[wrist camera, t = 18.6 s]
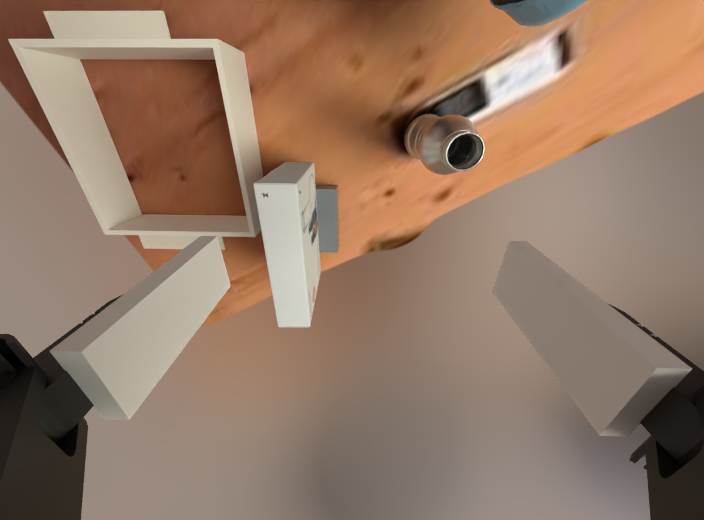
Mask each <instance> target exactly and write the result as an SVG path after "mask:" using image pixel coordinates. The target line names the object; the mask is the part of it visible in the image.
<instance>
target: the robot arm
mask: <svg viewBox="0 0 704 520" xmlns="http://www.w3.org/2000/svg"><path fill="white" fill-rule="evenodd" d="M586 1H588V0H490V2H491V4H492V5H493V6H494V7H496V8H498V9H500V10H503V11H505V12H506V13H507V14H508V15H509V16H510V17H511V18H512V19H513V20H515V21H516V22H517V23H518V24H520V25H524V26H528V27H530V26H531V27H536V26H541V25H544V24H547V23H550V22H552V21H554V20H556V19H558V18H560V17H562V16H564V15H566V14H567V13H569V12H571V11H572V10H574V9H576V8H577V7H579V6H580V5H582V4H583V3H585V2H586ZM229 288H230V282H229V278H228V275H227V271H226V267H225V263H224V260H223V256H222V252H221V248H220V245H219V241H218V237H217V236H200V237H199V238H197V239H196V240H195V241H193V242H192V243H191V244H189V245H188V246H187V247H185V248H184V249H183V250H181V251H180V252H179V253H177V254H176V255H175V256H174V257H172V258H171V259H170V260H168V261H167V262H166V263H164V264H163V265H162V266H160V267H159V268H158V269H156V270H155V271H154V272H153V273H151V274H150V275H149V276H147V277H146V278H145V279H143V280H142V281H141V282H139V283H138V284H137V285H136V286H134V287H133V288H132V289H130V290H129V291H128V292H126V293H125V294H123V295H121V296H119V297H117V298H115V299H113V300H111V301H109V302H108V303H106V304H105V305H104V306H102V307H101V308H100V309H98V310H97V311H96V312H95V314H92V315H90V316H89V317H88V318H86V319H85V320H84V321H83V323H82V324H78V325H77V326H76V327H74V328H73V329H72V330H70V331H69V332H68V333H66V334H65V335H64V336H62V337H61V338H60V339H58V340H57V341H55V342H54V343H53V344H52V345H50V346H49V347H47V348H46V349H45V350H43V351H42V352H41V353H39V354H38V355H37V356H35V357H34V358H32V357H31V356H30V355H29V353H28V352H27V351H26V350H25V349H24V347H23V346H22V345H21V344H20V343H19V342H18V340H17V339H16V338H15V337H14V336H12V335H9V334H0V520H81V509H82V497H83V483H84V470H85V458H86V445H87V432H88V425H87V422H86V420H85V419H84V418H83V417H84V416H85V415H86V414H87V413H88V411H89V410H90V409H91V408H92V407H94V408H95V409H96V410H97V412H98V413H99V414H100V415H101V417H102V418H103V419H122V420H130V418H131V417H132V416H133V414H134V413H135V412H136V411H137V409H138V408H139V407H140V405H141V404H142V403H143V401H144V400H145V399H146V397H147V396H148V395H149V393H150V392H151V391H152V389H153V388H154V387H155V385H156V384H157V383H158V381H159V380H160V379H161V377H162V376H163V375H164V373H165V372H166V371H167V369H168V368H169V367H170V366H171V364H172V363H173V362H174V360H175V359H176V358H177V356H178V355H179V354H180V352H181V351H182V349H183V348H184V347H185V346H186V344H187V343H188V342H189V340H190V339H191V338H192V336H193V335H194V334H195V332H196V331H197V330H198V329H199V327H200V326H201V325H202V323H203V322H204V321H205V319H206V318H207V317H208V315H209V314H210V313H211V311H212V310H213V309H214V307H215V306H216V305H217V303H218V302H219V301H220V299H221V298H222V297H223V295H224V294H225V293H226V291H227V290H228V289H229ZM493 293H494V294H495V296H496V297H497V298H498V300H499V301H500V302H501V304H502V305H503V306H504V308H505V309H506V310H507V312H508V313H509V314H510V316H511V317H512V319H513V320H514V321H515V323H516V324H517V325H518V327H519V328H520V329H521V331H522V332H523V333H524V335H525V336H526V337H527V339H528V340H529V341H530V343H531V344H532V345H533V347H534V348H535V350H536V351H537V352H538V353H539V355H540V356H541V358H542V359H543V360H544V362H545V363H546V364H547V366H548V367H549V368H550V370H551V371H552V372H553V374H554V375H555V376H556V378H557V379H558V380H559V382H560V383H561V385H562V386H563V387H564V388H565V390H566V391H567V393H568V394H569V395H570V397H571V398H572V399H573V401H574V402H575V403H576V405H577V406H578V407H579V409H580V410H581V412H582V413H583V414H584V415H585V417H586V418H587V419H588V421H589V422H590V424H591V425H592V426H593V428H594V429H595V430H596V432H597V433H598V434H599V435H601V436H629V435H630V434H631V433H632V432H633V431H634V430H635V428H636V427H637V426H638V425H639V424H640V423H641V424H642V425H643V426H644V427H645V428H646V429H647V431H648V432H649V433H650V434H651V436H650V437H649V438H648V439H647V440H646V441H645V442H644V443H643V444H642V445H641V446H640V447H639V448H638V449H637V450H636V451H635V452H633V453H632V455H631V458H630V461H632V462H634V463H636V462H637V461H638V460H639V459H640V458H641V457H644V456H645V457H646V465H645V466H644V468H645V469H646V470H647V478H648V490H649V504H650V516H651V520H704V371H703V370H701V369H700V368H698V367H697V366H696V365H694V364H693V363H692V362H690V361H689V360H688V359H687V358H685V357H684V356H683V355H681V354H680V353H679V352H677V351H676V350H675V349H673V348H672V347H671V346H669V345H668V344H667V343H665V342H664V341H662V340H661V339H660V338H659V337H655V336H654V334H653V333H652V332H651V331H649V330H648V329H647V328H645V327H641V324H640V323H638V322H637V321H636V320H635V319H633V318H632V317H631V316H629V315H628V314H626V313H625V312H623V311H621V310H619V309H618V308H616V307H614V306H612V305H610V304H608V303H606V302H605V301H603V300H602V299H601V298H600V297H598V296H597V295H596V294H594V293H593V292H592V291H590V290H589V289H588V288H587V287H585V286H584V285H583V284H581V283H580V282H579V281H577V280H576V279H575V278H574V277H572V276H571V275H569V274H568V273H567V272H566V271H564V270H563V269H562V268H560V267H559V266H558V265H557V264H555V263H554V262H553V261H551V260H550V259H549V258H547V257H546V256H545V255H544V254H542V253H541V252H540V251H538V250H537V249H536V248H534V247H533V246H532V245H531V244H529V243H528V242H524V241H521V242H520V241H509V243H508V246H507V250H506V252H505V255H504V259H503V262H502V265H501V268H500V271H499V274H498V277H497V280H496V283H495V286H494V289H493Z"/></svg>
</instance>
